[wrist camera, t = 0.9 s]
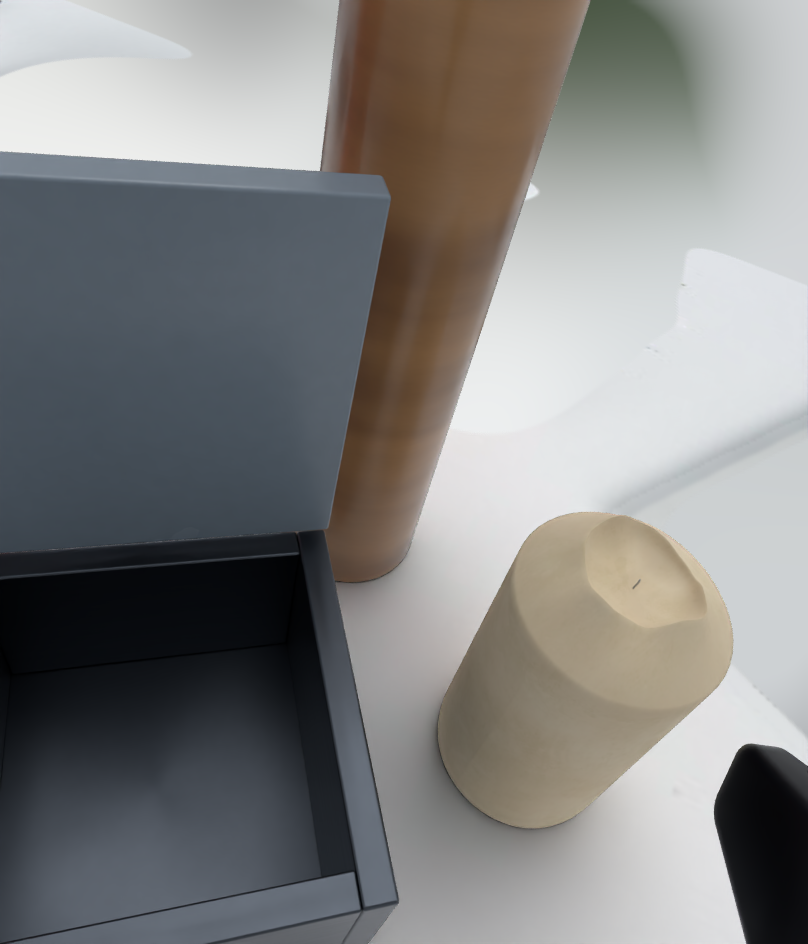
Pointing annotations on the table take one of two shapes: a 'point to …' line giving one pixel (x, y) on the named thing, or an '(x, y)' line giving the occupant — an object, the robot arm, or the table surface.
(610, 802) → the table surface
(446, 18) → the tall beige cylinder
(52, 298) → the lid
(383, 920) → the open box
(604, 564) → the candle
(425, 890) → the table surface
